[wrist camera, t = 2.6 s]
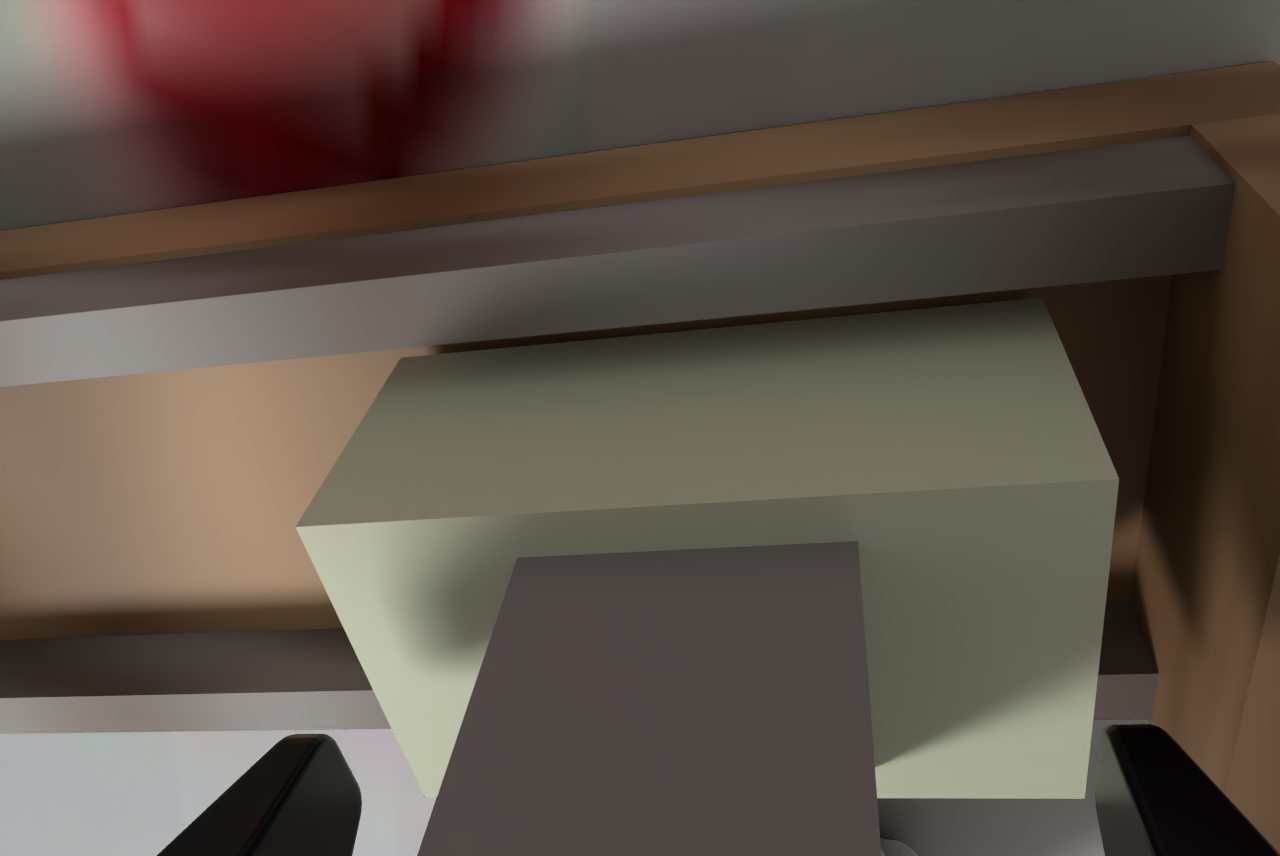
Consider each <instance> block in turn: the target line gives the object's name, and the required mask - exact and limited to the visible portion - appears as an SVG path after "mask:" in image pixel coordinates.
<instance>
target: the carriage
mask: <svg viewBox="0 0 1280 856" xmlns="http://www.w3.org/2000/svg"><path fill="white" fill-rule="evenodd" d="M1118 485H1119V477H1118V475H1117V473H1116V470H1115V468H1114V466H1113V463H1112V461H1111V458H1110V456H1109V454H1108V451H1107V449H1106V447H1105V444H1104V442H1103V440H1102V437H1101V435H1100V432H1099V430H1098V428H1097V425H1096V423H1095V421H1094V418H1093V416H1092V413H1091V411H1090V409H1089V406H1088V404H1087V402H1086V399H1085V397H1084V394H1083V392H1082V390H1081V387H1080V385H1079V383H1078V380H1077V378H1076V376H1075V373H1074V371H1073V368H1072V366H1071V364H1070V361H1069V359H1068V357H1067V354H1066V352H1065V349H1064V347H1063V345H1062V342H1061V340H1060V338H1059V335H1058V333H1057V331H1056V328H1055V326H1054V323H1053V321H1052V319H1051V316H1050V314H1049V312H1048V309H1047V307H1046V304H1045V302H1044V300H1043V297H1041V298H1031V299H1020V300H1009V301H999V302H988V303H977V304H967V305H956V306H945V307H935V308H924V309H913V310H903V311H892V312H882V313H871V314H860V315H850V316H839V317H828V318H818V319H807V320H796V321H786V322H775V323H765V324H754V325H743V326H733V327H722V328H711V329H701V330H690V331H679V332H669V333H658V334H648V335H637V336H626V337H616V338H605V339H594V340H584V341H573V342H562V343H552V344H541V345H531V346H520V347H509V348H499V349H488V350H477V351H467V352H456V353H445V354H435V355H424V356H414V357H403V358H400V360H399V361H398V363H397V364H396V366H395V368H394V369H393V371H392V373H391V374H390V376H389V377H388V379H387V381H386V382H385V384H384V385H383V387H382V389H381V390H380V392H379V393H378V395H377V397H376V398H375V400H374V401H373V403H372V405H371V406H370V408H369V409H368V411H367V413H366V414H365V416H364V418H363V419H362V421H361V422H360V424H359V426H358V427H357V429H356V430H355V432H354V434H353V435H352V437H351V438H350V440H349V442H348V443H347V445H346V446H345V448H344V450H343V451H342V453H341V454H340V456H339V458H338V459H337V461H336V463H335V464H334V466H333V467H332V469H331V471H330V472H329V474H328V475H327V477H326V479H325V480H324V482H323V483H322V485H321V487H320V488H319V490H318V491H317V493H316V495H315V496H314V498H313V499H312V501H311V503H310V504H309V506H308V508H307V509H306V511H305V512H304V514H303V516H302V517H301V519H300V520H299V522H298V524H297V525H296V529H297V531H298V533H299V536H300V538H301V540H302V542H303V544H304V546H305V548H306V550H307V552H308V554H309V557H310V559H311V561H312V563H313V565H314V567H315V569H316V571H317V573H318V575H319V578H320V580H321V582H322V584H323V586H324V588H325V590H326V592H327V594H328V596H329V599H330V601H331V603H332V605H333V607H334V609H335V611H336V613H337V615H338V617H339V619H340V622H341V624H342V626H343V628H344V630H345V632H346V634H347V636H348V638H349V640H350V643H351V645H352V647H353V649H354V651H355V653H356V655H357V657H358V659H359V661H360V664H361V666H362V668H363V670H364V672H365V674H366V676H367V678H368V680H369V682H370V685H371V687H372V689H373V691H374V693H375V695H376V697H377V699H378V701H379V703H380V706H381V708H382V710H383V712H384V714H385V716H386V718H387V720H388V722H389V724H390V726H391V729H392V731H393V733H394V735H395V737H396V739H397V741H398V743H399V745H400V747H401V750H402V752H403V754H404V756H405V758H406V760H407V762H408V764H409V766H410V768H411V771H412V773H413V775H414V777H415V779H416V781H417V783H418V785H419V787H420V789H421V792H422V794H423V796H424V797H437V799H436V802H435V805H434V808H433V811H432V814H431V817H430V820H429V823H428V826H427V829H426V832H425V835H424V838H423V841H422V844H421V847H420V850H419V853H418V855H417V856H881V842H880V829H879V815H878V802H877V798H969V799H1085V792H1086V783H1087V773H1088V764H1089V755H1090V745H1091V736H1092V727H1093V718H1094V708H1095V699H1096V690H1097V680H1098V671H1099V662H1100V653H1101V643H1102V634H1103V625H1104V615H1105V606H1106V597H1107V588H1108V578H1109V569H1110V560H1111V550H1112V541H1113V532H1114V523H1115V513H1116V504H1117V495H1118Z"/></svg>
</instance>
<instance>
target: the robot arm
mask: <svg viewBox="0 0 1280 856" xmlns="http://www.w3.org/2000/svg"><path fill="white" fill-rule="evenodd" d="M1095 798H1096V809H1097V816H1098V822H1099V827H1100V832H1101V837H1102V842H1103V847H1104V852H1105V856H1280V853H1279V852H1278V851H1277V850H1276V849H1275V848H1274V847H1273V846H1272V845H1271V844H1270V843H1269V842H1268V840H1267V839H1266V838H1265V837H1264V836H1263V835H1262V834H1261V833H1260V832H1259V831H1258V830H1257V829H1256V827H1255V826H1254V825H1253V824H1252V823H1251V822H1250V821H1249V820H1248V819H1247V818H1246V817H1245V816H1244V815H1243V813H1242V812H1241V811H1240V810H1239V809H1238V808H1237V807H1236V806H1235V805H1234V804H1233V803H1232V802H1231V800H1230V799H1229V798H1228V797H1227V796H1226V795H1225V794H1224V793H1223V792H1222V791H1221V790H1220V789H1219V788H1218V786H1217V785H1216V784H1215V783H1214V782H1213V781H1212V780H1211V779H1210V778H1209V777H1208V776H1207V775H1206V773H1205V772H1204V771H1203V770H1202V769H1201V768H1200V767H1199V766H1198V765H1197V764H1196V763H1195V762H1194V760H1193V759H1192V758H1191V757H1190V756H1189V755H1188V754H1187V753H1186V752H1185V751H1184V750H1183V749H1182V748H1181V746H1180V745H1179V744H1178V743H1177V742H1176V741H1175V740H1174V739H1173V738H1172V737H1171V736H1170V735H1169V734H1168V733H1167V732H1166V731H1165V730H1164V729H1162V728H1160V727H1158V726H1156V725H1151V724H1140V725H1110V726H1108V727H1106V728H1105V730H1104V732H1103V734H1102V737H1101V744H1100V753H1099V762H1098V770H1097V779H1096V788H1095ZM361 806H362V800H361V793H360V788H359V786H358V783H357V781H356V779H355V777H354V776H353V774H352V772H351V770H350V768H349V766H348V764H347V762H346V760H345V759H344V757H343V755H342V753H341V751H340V749H339V747H338V745H337V743H336V742H335V740H334V739H333V738H331V737H330V736H328V735H325V734H295V735H290V736H287V737H285V738H283V739H282V740H280V741H279V742H278V743H277V744H275V745H274V746H273V747H272V748H271V749H270V750H269V751H268V752H267V753H266V754H265V755H264V756H263V757H262V758H261V759H259V760H258V761H257V762H256V763H255V764H254V765H253V766H252V767H251V768H250V769H249V770H248V771H247V772H246V773H245V774H243V775H242V776H241V777H240V778H239V779H238V780H237V781H236V782H235V783H234V784H233V785H232V786H231V787H230V788H228V789H227V790H226V791H225V792H224V793H223V794H222V795H221V796H220V797H219V798H218V799H217V800H216V801H215V802H214V803H212V804H211V805H210V806H209V807H208V808H207V809H206V810H205V811H204V812H203V813H202V814H201V815H200V816H199V817H197V818H196V819H195V820H194V821H193V822H192V823H191V824H190V825H189V826H188V827H187V828H186V829H185V830H184V831H183V832H181V833H180V834H179V835H178V836H177V837H176V838H175V839H174V840H173V841H172V842H171V843H170V844H169V845H168V846H167V847H165V848H164V849H163V850H162V851H161V852H160V853H159V854H158V855H157V856H352V854H353V849H354V844H355V839H356V835H357V830H358V825H359V820H360V815H361Z"/></svg>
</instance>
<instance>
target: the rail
mask: <svg viewBox="0 0 1280 856" xmlns="http://www.w3.org/2000/svg"><path fill="white" fill-rule="evenodd" d="M1041 297H1043V300H1044V302H1045V304H1046V307H1047V309H1048V312H1049V314H1050V316H1051V319H1052V321H1053V323H1054V326H1055V328H1056V331H1057V333H1058V335H1059V338H1060V340H1061V342H1062V345H1063V347H1064V349H1065V352H1066V354H1067V357H1068V359H1069V361H1070V364H1071V366H1072V368H1073V371H1074V373H1075V376H1076V378H1077V380H1078V383H1079V385H1080V387H1081V390H1082V392H1083V394H1084V397H1085V399H1086V402H1087V404H1088V406H1089V409H1090V411H1091V413H1092V416H1093V418H1094V421H1095V423H1096V425H1097V428H1098V430H1099V432H1100V435H1101V437H1102V440H1103V442H1104V444H1105V447H1106V449H1107V451H1108V454H1109V456H1110V458H1111V461H1112V463H1113V466H1114V468H1115V470H1116V473H1117V475H1118V477H1119V485H1118V495H1117V504H1116V513H1115V523H1114V532H1113V541H1112V550H1111V560H1110V569H1109V578H1108V588H1107V597H1106V606H1105V615H1104V625H1103V634H1102V643H1101V653H1100V662H1099V671H1098V680H1097V690H1096V699H1095V708H1094V718H1093V720H1116V719H1149V720H1150V723H1151V725H1156V726H1158V727H1160V728H1162V729H1164V730H1165V731H1166V732H1167V733H1168V734H1169V735H1170V736H1171V737H1172V738H1173V739H1174V740H1175V741H1176V742H1177V743H1178V744H1179V745H1180V746H1181V748H1182V749H1183V750H1184V751H1185V752H1186V753H1187V754H1188V755H1189V756H1190V757H1191V758H1192V759H1193V760H1194V762H1195V763H1196V764H1197V765H1198V766H1199V767H1200V768H1201V769H1202V770H1203V771H1204V772H1205V773H1206V775H1207V776H1208V777H1209V778H1210V779H1211V780H1212V781H1213V782H1214V783H1215V784H1216V785H1217V786H1218V788H1219V789H1220V790H1221V791H1222V792H1223V793H1224V794H1225V795H1226V796H1227V797H1228V798H1229V799H1230V800H1231V802H1232V803H1233V804H1234V805H1235V806H1236V807H1237V808H1238V809H1239V810H1240V811H1241V812H1242V813H1243V815H1244V816H1245V817H1246V818H1247V819H1248V820H1249V821H1250V822H1251V823H1252V824H1253V825H1254V826H1255V827H1256V829H1257V830H1258V831H1259V832H1260V833H1261V834H1262V835H1263V836H1264V837H1265V838H1266V839H1267V840H1268V842H1269V843H1270V844H1271V845H1272V846H1273V847H1274V848H1275V849H1276V850H1277V851H1278V852H1279V853H1280V66H1279V65H1277V64H1276V63H1275V62H1273V61H1268V62H1261V63H1254V64H1246V65H1239V66H1231V67H1224V68H1216V69H1209V70H1201V71H1194V72H1186V73H1179V74H1171V75H1164V76H1156V77H1149V78H1141V79H1134V80H1126V81H1119V82H1111V83H1104V84H1096V85H1089V86H1081V87H1074V88H1066V89H1059V90H1051V91H1044V92H1036V93H1029V94H1021V95H1014V96H1006V97H999V98H991V99H984V100H977V101H969V102H962V103H954V104H947V105H939V106H932V107H924V108H917V109H909V110H902V111H894V112H887V113H879V114H872V115H864V116H857V117H849V118H842V119H834V120H827V121H819V122H812V123H804V124H797V125H789V126H782V127H774V128H767V129H759V130H752V131H744V132H737V133H729V134H722V135H714V136H707V137H700V138H692V139H685V140H677V141H670V142H662V143H655V144H647V145H640V146H632V147H625V148H617V149H610V150H602V151H595V152H587V153H580V154H572V155H565V156H557V157H550V158H542V159H535V160H527V161H520V162H512V163H505V164H497V165H490V166H482V167H475V168H467V169H460V170H452V171H445V172H437V173H430V174H422V175H415V176H408V177H400V178H393V179H385V180H378V181H370V182H363V183H355V184H348V185H340V186H333V187H325V188H318V189H310V190H303V191H295V192H288V193H280V194H273V195H265V196H258V197H250V198H243V199H235V200H228V201H220V202H213V203H205V204H198V205H190V206H183V207H175V208H168V209H160V210H153V211H145V212H138V213H131V214H123V215H116V216H108V217H101V218H93V219H86V220H78V221H71V222H63V223H56V224H48V225H41V226H33V227H26V228H18V229H11V230H3V231H0V734H6V733H85V732H165V731H244V730H323V729H391V726H390V724H389V722H388V720H387V718H386V716H385V714H384V712H383V710H382V708H381V706H380V703H379V701H378V699H377V697H376V695H375V693H374V691H373V689H372V687H371V685H370V682H369V680H368V678H367V676H366V674H365V672H364V670H363V668H362V666H361V664H360V661H359V659H358V657H357V655H356V653H355V651H354V649H353V647H352V645H351V643H350V640H349V638H348V636H347V634H346V632H345V630H344V628H343V626H342V624H341V622H340V619H339V617H338V615H337V613H336V611H335V609H334V607H333V605H332V603H331V601H330V599H329V596H328V594H327V592H326V590H325V588H324V586H323V584H322V582H321V580H320V578H319V575H318V573H317V571H316V569H315V567H314V565H313V563H312V561H311V559H310V557H309V554H308V552H307V550H306V548H305V546H304V544H303V542H302V540H301V538H300V536H299V533H298V531H297V529H296V525H297V524H298V522H299V520H300V519H301V517H302V516H303V514H304V512H305V511H306V509H307V508H308V506H309V504H310V503H311V501H312V499H313V498H314V496H315V495H316V493H317V491H318V490H319V488H320V487H321V485H322V483H323V482H324V480H325V479H326V477H327V475H328V474H329V472H330V471H331V469H332V467H333V466H334V464H335V463H336V461H337V459H338V458H339V456H340V454H341V453H342V451H343V450H344V448H345V446H346V445H347V443H348V442H349V440H350V438H351V437H352V435H353V434H354V432H355V430H356V429H357V427H358V426H359V424H360V422H361V421H362V419H363V418H364V416H365V414H366V413H367V411H368V409H369V408H370V406H371V405H372V403H373V401H374V400H375V398H376V397H377V395H378V393H379V392H380V390H381V389H382V387H383V385H384V384H385V382H386V381H387V379H388V377H389V376H390V374H391V373H392V371H393V369H394V368H395V366H396V364H397V363H398V361H399V360H400V358H403V357H414V356H424V355H435V354H445V353H456V352H467V351H477V350H488V349H499V348H509V347H520V346H531V345H541V344H552V343H562V342H573V341H584V340H594V339H605V338H616V337H626V336H637V335H648V334H658V333H669V332H679V331H690V330H701V329H711V328H722V327H733V326H743V325H754V324H765V323H775V322H786V321H796V320H807V319H818V318H828V317H839V316H850V315H860V314H871V313H882V312H892V311H903V310H913V309H924V308H935V307H945V306H956V305H967V304H977V303H988V302H999V301H1009V300H1020V299H1031V298H1041Z"/></svg>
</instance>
